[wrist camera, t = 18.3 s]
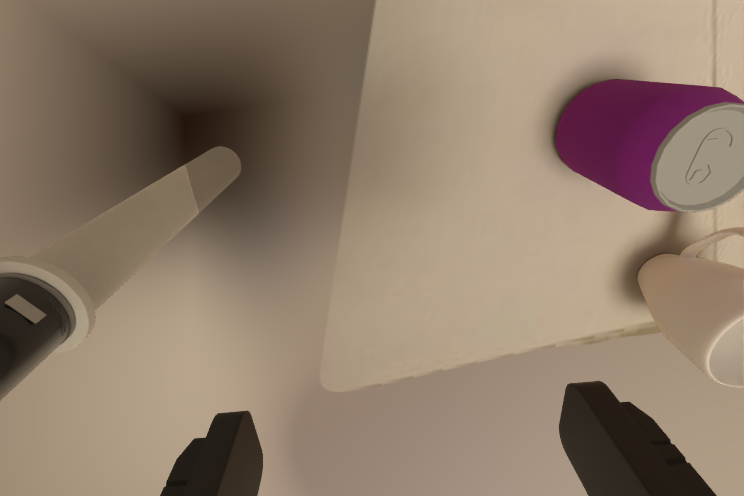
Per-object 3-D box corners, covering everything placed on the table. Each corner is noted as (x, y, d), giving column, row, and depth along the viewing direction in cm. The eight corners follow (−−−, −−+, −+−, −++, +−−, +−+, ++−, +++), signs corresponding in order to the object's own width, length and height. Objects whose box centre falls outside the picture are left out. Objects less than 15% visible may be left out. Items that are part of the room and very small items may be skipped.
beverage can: (614, 181, 35) (727, 236, 24) (536, 161, 34) (617, 209, 23) (662, 91, 31) (817, 109, 21) (576, 66, 30) (693, 71, 20)
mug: (687, 303, 41) (796, 386, 31) (608, 308, 41) (691, 392, 31) (726, 195, 36) (874, 250, 25) (636, 201, 36) (746, 258, 25)
